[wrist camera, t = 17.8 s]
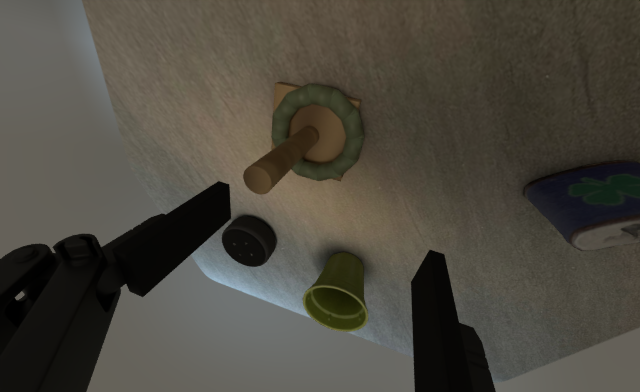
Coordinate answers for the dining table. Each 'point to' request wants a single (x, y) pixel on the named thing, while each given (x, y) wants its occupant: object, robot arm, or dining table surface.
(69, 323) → the robot arm
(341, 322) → the plant pot
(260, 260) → the smart speaker
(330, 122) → the post
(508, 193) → the dining table surface
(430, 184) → the dining table surface
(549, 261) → the dining table surface
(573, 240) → the flask
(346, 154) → the ring
